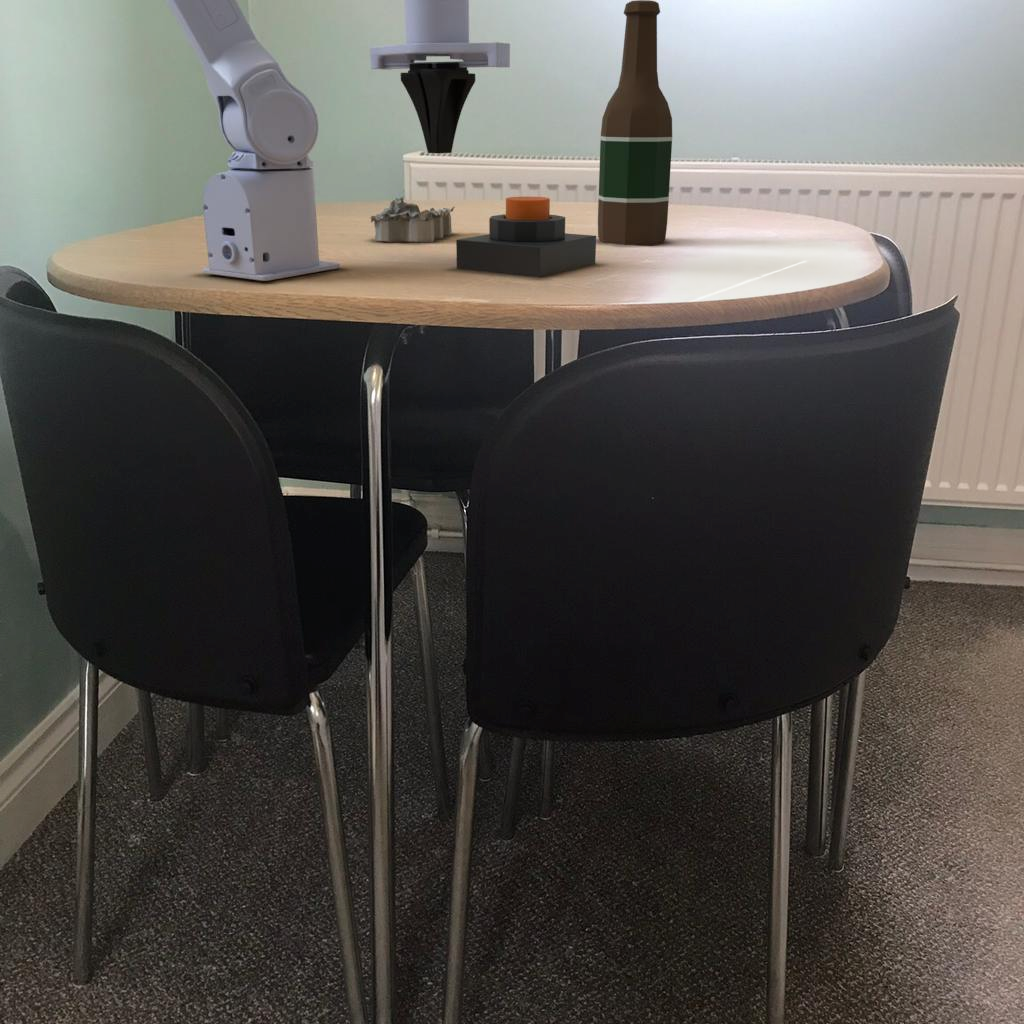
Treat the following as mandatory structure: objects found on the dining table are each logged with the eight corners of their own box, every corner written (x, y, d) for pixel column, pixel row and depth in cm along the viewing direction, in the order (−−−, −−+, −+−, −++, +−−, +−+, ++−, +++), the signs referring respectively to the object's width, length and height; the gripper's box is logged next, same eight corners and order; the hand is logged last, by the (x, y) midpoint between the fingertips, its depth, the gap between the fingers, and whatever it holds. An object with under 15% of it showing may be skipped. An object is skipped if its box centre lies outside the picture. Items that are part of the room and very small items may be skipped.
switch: (534, 224, 90) (534, 201, 90) (497, 222, 92) (497, 198, 92) (557, 221, 94) (557, 197, 93) (521, 218, 96) (521, 195, 95)
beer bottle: (589, 244, 110) (597, -2, 102) (604, 236, 117) (612, 5, 108) (660, 247, 108) (674, -4, 99) (671, 238, 115) (685, 3, 106)
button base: (539, 278, 88) (540, 225, 87) (456, 269, 93) (455, 218, 91) (595, 264, 96) (597, 215, 94) (516, 257, 101) (516, 210, 99)
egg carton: (401, 232, 121) (400, 196, 120) (460, 234, 119) (460, 197, 118) (364, 241, 112) (362, 203, 110) (428, 244, 110) (427, 205, 108)
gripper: (529, -10, 89) (527, 153, 94) (402, -2, 97) (407, 149, 102) (483, -18, 84) (483, 156, 89) (352, -9, 91) (359, 151, 96)
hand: (439, 153), depth 95 cm, fingers closed
